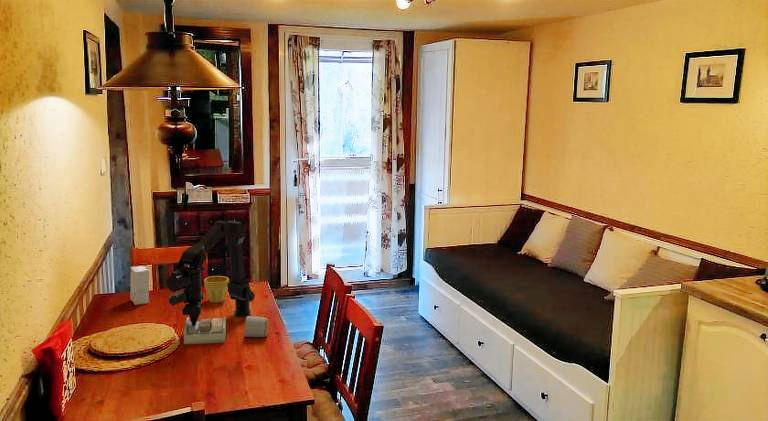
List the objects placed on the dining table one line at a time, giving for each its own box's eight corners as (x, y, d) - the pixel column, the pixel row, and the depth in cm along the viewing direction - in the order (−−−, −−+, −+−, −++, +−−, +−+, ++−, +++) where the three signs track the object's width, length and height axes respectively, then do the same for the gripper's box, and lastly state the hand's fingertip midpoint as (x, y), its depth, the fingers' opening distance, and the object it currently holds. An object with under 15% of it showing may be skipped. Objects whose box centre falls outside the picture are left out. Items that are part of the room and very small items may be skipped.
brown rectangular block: (201, 324, 225) (201, 318, 224) (211, 324, 226) (211, 318, 225) (199, 332, 217) (199, 326, 217) (210, 332, 218) (210, 326, 218)
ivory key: (212, 324, 226) (212, 318, 225) (222, 323, 227) (222, 318, 226) (211, 332, 218) (211, 326, 218) (221, 331, 219) (221, 325, 219)
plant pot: (218, 305, 256) (217, 283, 255) (199, 301, 261) (199, 280, 259) (233, 299, 266) (233, 277, 264) (215, 295, 270) (215, 274, 268)
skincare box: (130, 300, 259) (129, 266, 257) (144, 297, 263) (143, 265, 260) (135, 305, 253) (134, 271, 250) (150, 303, 256) (149, 269, 254)
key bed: (187, 331, 227) (186, 317, 226) (225, 329, 230) (225, 315, 229) (184, 344, 214) (183, 329, 213) (224, 342, 217) (224, 327, 216)
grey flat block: (189, 327, 224) (189, 321, 224) (199, 327, 225) (199, 321, 224) (187, 335, 216) (187, 329, 216) (198, 335, 217) (198, 328, 217)
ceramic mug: (266, 340, 221) (266, 320, 220) (244, 339, 220) (244, 319, 219) (270, 330, 231) (270, 311, 230) (248, 329, 231) (248, 310, 230)
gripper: (172, 277, 225) (173, 317, 227) (166, 293, 207) (167, 335, 209) (203, 277, 227) (204, 316, 230) (200, 291, 209) (200, 334, 212)
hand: (193, 325), depth 220 cm, fingers closed, pressing on grey flat block
